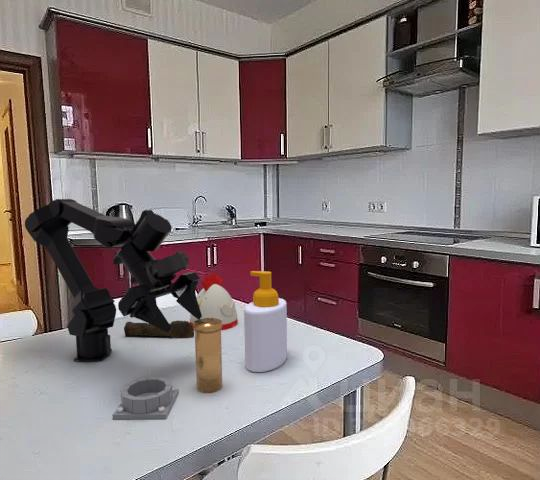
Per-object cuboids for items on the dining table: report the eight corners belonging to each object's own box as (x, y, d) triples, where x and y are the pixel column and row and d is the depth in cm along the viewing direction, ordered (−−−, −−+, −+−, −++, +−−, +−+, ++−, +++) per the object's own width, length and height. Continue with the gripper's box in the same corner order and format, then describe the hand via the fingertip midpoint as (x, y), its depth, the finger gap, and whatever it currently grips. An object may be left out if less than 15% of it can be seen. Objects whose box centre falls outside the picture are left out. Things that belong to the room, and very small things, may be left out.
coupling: (193, 393, 76) (190, 326, 75) (198, 380, 82) (196, 318, 80) (221, 393, 76) (219, 326, 75) (225, 380, 82) (223, 317, 80)
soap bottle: (263, 348, 99) (262, 266, 96) (295, 353, 95) (294, 268, 93) (236, 369, 87) (233, 276, 85) (270, 376, 83) (268, 279, 81)
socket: (112, 419, 68) (111, 400, 67) (131, 393, 77) (130, 376, 76) (166, 418, 68) (165, 400, 67) (178, 393, 77) (178, 376, 76)
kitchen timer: (180, 326, 117) (178, 275, 116) (212, 314, 128) (211, 268, 127) (215, 334, 109) (214, 280, 108) (247, 321, 120) (246, 272, 119)
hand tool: (123, 338, 108) (122, 321, 107) (130, 333, 112) (129, 317, 111) (190, 342, 105) (189, 325, 104) (195, 337, 109) (195, 320, 108)
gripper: (125, 245, 73) (174, 311, 69) (191, 235, 89) (235, 289, 85) (98, 284, 78) (143, 348, 73) (166, 268, 94) (206, 320, 90)
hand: (185, 324), depth 80 cm, fingers open, 9 cm apart
